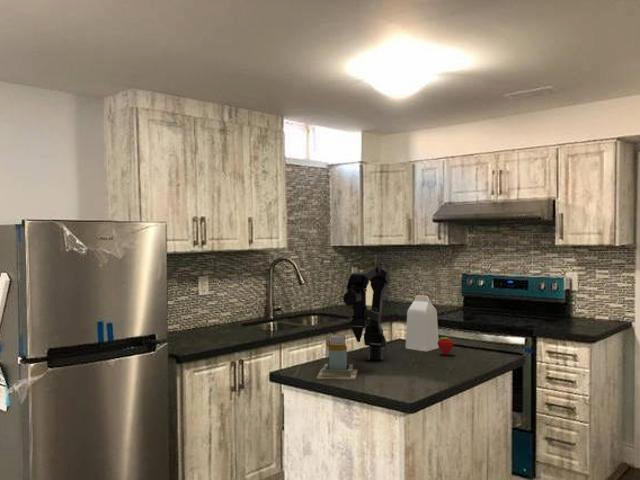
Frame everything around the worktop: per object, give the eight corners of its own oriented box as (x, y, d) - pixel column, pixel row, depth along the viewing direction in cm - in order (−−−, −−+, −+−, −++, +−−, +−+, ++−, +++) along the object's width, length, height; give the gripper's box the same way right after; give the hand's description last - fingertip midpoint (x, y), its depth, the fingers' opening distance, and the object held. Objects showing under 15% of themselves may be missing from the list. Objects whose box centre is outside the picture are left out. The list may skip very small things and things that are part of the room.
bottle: (349, 372, 232) (349, 335, 232) (342, 376, 226) (341, 338, 225) (334, 370, 235) (334, 334, 235) (326, 374, 229) (326, 336, 229)
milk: (405, 348, 282) (405, 295, 282) (418, 344, 291) (418, 293, 291) (426, 351, 274) (426, 297, 274) (439, 347, 283) (438, 295, 282)
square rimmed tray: (321, 369, 238) (321, 362, 238) (357, 370, 236) (357, 363, 236) (316, 379, 224) (316, 371, 224) (354, 380, 222) (354, 372, 222)
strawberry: (450, 357, 261) (450, 335, 261) (435, 355, 265) (435, 334, 265) (455, 355, 266) (455, 333, 266) (440, 353, 270) (440, 332, 270)
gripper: (377, 306, 230) (377, 344, 230) (379, 300, 249) (379, 336, 249) (349, 305, 232) (350, 344, 232) (353, 300, 250) (353, 335, 250)
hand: (359, 339), depth 241 cm, fingers open, 9 cm apart
